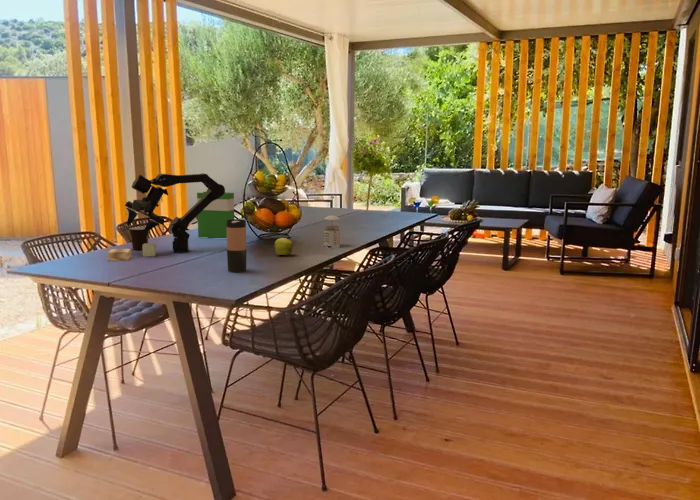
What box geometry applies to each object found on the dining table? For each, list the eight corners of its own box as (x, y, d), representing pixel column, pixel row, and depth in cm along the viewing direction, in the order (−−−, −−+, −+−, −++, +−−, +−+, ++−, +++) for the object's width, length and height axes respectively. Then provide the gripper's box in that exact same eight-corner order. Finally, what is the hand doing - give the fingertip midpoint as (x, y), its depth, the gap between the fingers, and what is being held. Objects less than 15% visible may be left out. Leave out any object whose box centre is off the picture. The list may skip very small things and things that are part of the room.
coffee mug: (143, 251, 275) (142, 229, 273) (126, 250, 277) (125, 229, 275) (156, 247, 286) (155, 226, 285) (140, 246, 288) (139, 226, 286)
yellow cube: (156, 254, 269) (155, 243, 268) (154, 256, 264) (154, 245, 263) (144, 254, 268) (144, 243, 267) (142, 256, 263) (142, 245, 262)
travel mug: (241, 267, 241) (240, 218, 238) (250, 271, 235) (249, 220, 232) (223, 270, 237) (222, 220, 233) (232, 273, 231) (231, 222, 227)
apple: (273, 253, 273) (273, 236, 272) (293, 254, 273) (293, 236, 272) (271, 257, 266) (271, 239, 264) (292, 257, 266) (292, 239, 264)
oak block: (131, 257, 261) (130, 248, 261) (128, 261, 254) (127, 251, 253) (111, 258, 260) (111, 249, 259) (108, 261, 252) (107, 252, 251)
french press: (336, 243, 303) (337, 194, 299) (346, 247, 293) (347, 196, 289) (319, 245, 299) (319, 195, 295) (328, 248, 289) (328, 197, 285)
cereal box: (198, 237, 318) (196, 192, 314) (205, 235, 325) (203, 191, 321) (228, 239, 314) (227, 193, 309) (234, 237, 321) (233, 192, 316)
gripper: (126, 185, 261) (108, 216, 259) (158, 201, 255) (141, 233, 254) (140, 193, 272) (123, 223, 270) (172, 209, 266) (155, 239, 264)
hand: (135, 229), depth 264 cm, fingers open, 9 cm apart
